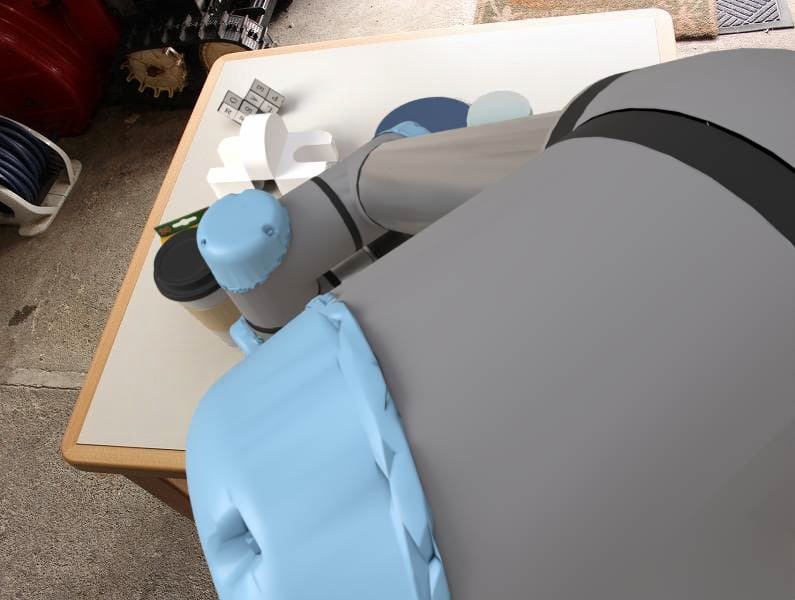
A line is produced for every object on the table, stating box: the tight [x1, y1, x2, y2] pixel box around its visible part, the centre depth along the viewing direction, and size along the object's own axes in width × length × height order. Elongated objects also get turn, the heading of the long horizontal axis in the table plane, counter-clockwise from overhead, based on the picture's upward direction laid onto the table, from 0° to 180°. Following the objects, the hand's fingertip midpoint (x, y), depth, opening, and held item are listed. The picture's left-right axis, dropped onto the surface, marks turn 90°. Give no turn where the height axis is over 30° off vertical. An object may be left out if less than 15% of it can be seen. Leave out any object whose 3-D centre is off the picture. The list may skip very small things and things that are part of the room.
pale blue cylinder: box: [467, 90, 534, 127], centre depth 68 cm, size 6×6×20 cm
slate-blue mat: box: [374, 96, 471, 136], centre depth 91 cm, size 16×16×1 cm
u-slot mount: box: [206, 112, 340, 200], centre depth 88 cm, size 18×10×10 cm, turn 84°
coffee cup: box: [152, 227, 243, 348], centre depth 71 cm, size 9×9×15 cm
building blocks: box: [216, 77, 286, 127], centre depth 98 cm, size 5×5×8 cm
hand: (523, 155), depth 67 cm, fingers open, 13 cm apart
